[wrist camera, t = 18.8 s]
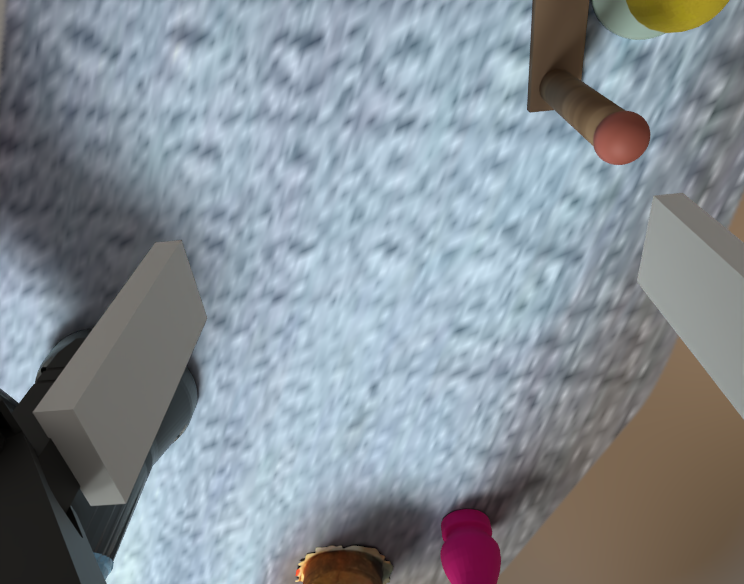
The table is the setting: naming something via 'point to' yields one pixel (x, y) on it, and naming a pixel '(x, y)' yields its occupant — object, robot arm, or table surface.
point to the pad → (621, 20)
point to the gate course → (577, 83)
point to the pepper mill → (469, 548)
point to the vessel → (344, 566)
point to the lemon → (674, 13)
